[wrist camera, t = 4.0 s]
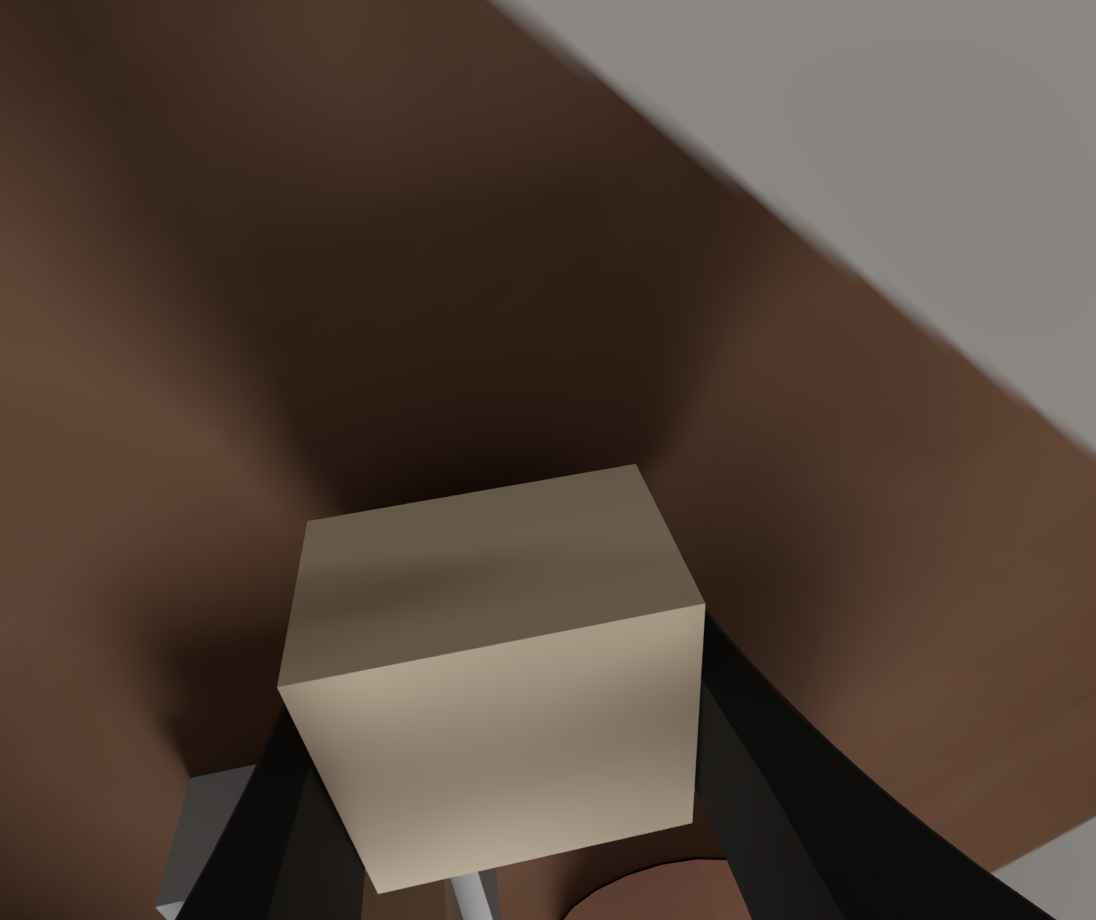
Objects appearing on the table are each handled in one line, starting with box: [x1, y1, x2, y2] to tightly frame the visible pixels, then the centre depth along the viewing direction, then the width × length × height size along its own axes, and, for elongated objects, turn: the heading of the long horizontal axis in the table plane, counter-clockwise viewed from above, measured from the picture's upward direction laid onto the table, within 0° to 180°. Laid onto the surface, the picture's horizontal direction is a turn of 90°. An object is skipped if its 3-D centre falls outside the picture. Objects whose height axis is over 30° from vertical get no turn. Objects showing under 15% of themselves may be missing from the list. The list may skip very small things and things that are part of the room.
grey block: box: [155, 764, 501, 920], centre depth 16 cm, size 6×6×3 cm
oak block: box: [277, 464, 705, 894], centre depth 11 cm, size 5×5×3 cm
